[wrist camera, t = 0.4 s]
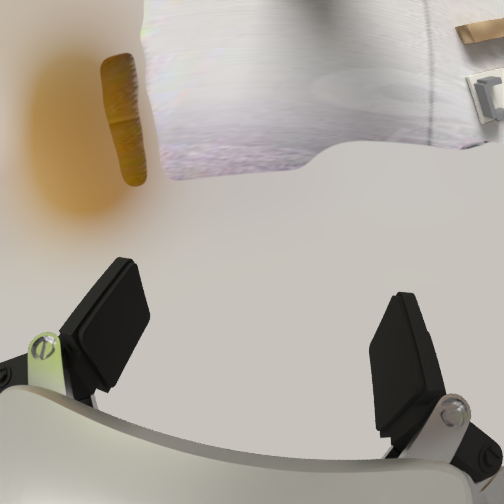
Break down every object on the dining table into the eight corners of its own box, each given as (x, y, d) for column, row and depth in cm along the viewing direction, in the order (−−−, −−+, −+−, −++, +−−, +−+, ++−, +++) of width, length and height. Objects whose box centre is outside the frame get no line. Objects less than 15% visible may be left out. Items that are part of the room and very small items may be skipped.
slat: (454, 27, 24) (466, 24, 21) (511, 17, 17) (523, 16, 14) (463, 44, 25) (475, 42, 22) (518, 32, 19) (530, 32, 15)
